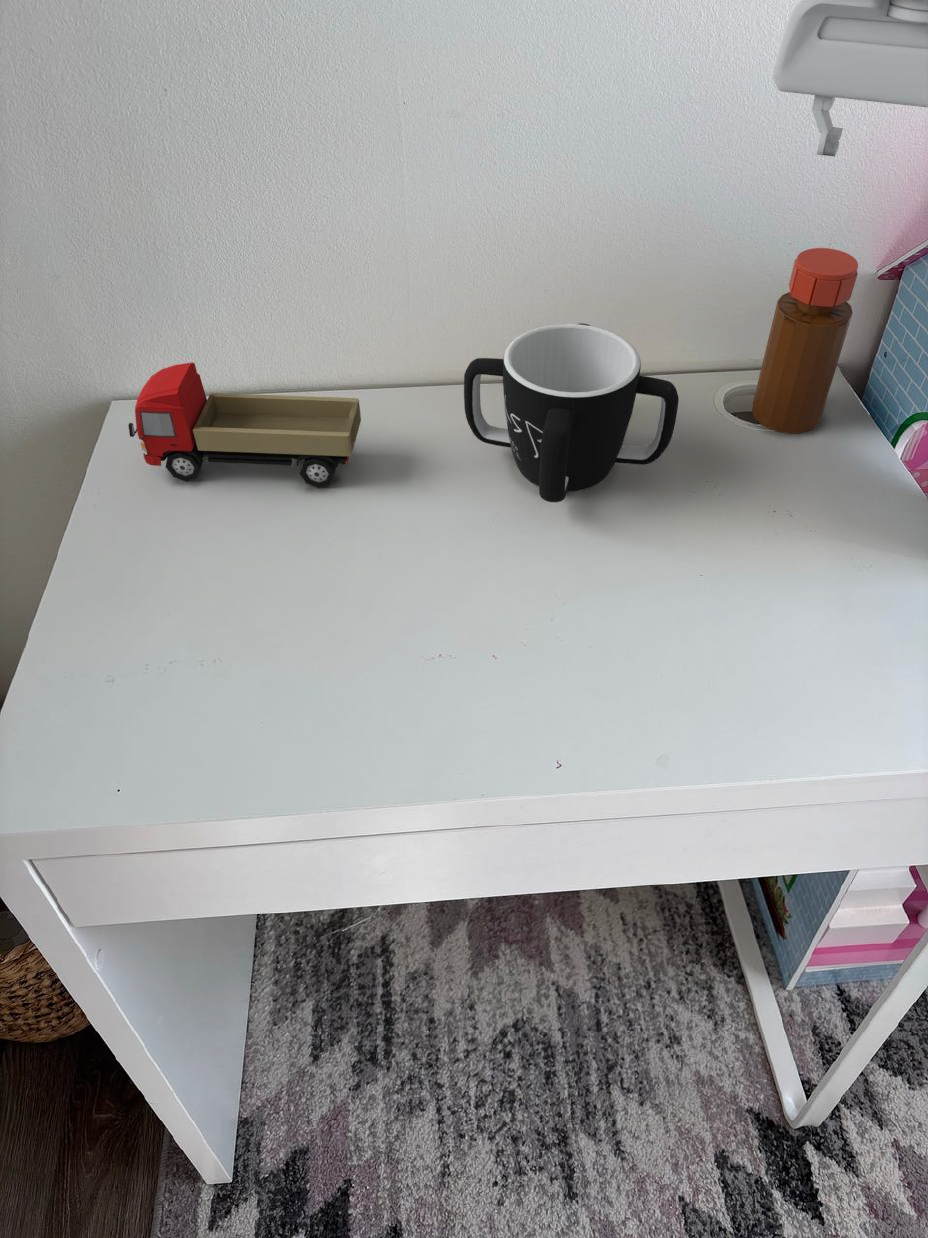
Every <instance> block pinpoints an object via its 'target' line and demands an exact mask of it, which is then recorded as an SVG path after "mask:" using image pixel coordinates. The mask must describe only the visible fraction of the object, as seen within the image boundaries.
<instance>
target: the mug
mask: <svg viewBox="0 0 928 1238" xmlns="http://www.w3.org/2000/svg"><path fill="white" fill-rule="evenodd" d="M641 367H642V362H641V357H640V354H639V352H638V351H637V349H636V348H635V347H634V346H633V345H632V343H631V342H629V341H628V340H627V339H625V338H624V337H622V336H620V335H619V334H616V333H615V332H613V331H610V330H607V329H605V328H601V327H597V326H593V325H591V324H588V323H581V322H580V323H559V324H550V325H545V326H544V325H543V326H541V327H537V328H534V329H531V330H528V331H525V332H524V333H522V334H520V335H518V336H517V337H516V338H514V339H513V340H512V341H511V342H510V343H509V344H508V346H507V347H506V349H505V351H504V353H503V358H494V357H477V358H475V359H473V360H472V361H470V363H469V364H468V365H467V367H466V369H465V372H464V375H463V405H464V414H465V418H466V421H467V425H468V426H469V428H470V430H471V432H472V434H473V435H474V436H475V437H476V439H478V440H479V441H480V442H482V443H485V444H488V445H493V446H499V447H503V448H508V449H509V448H510V449H511V453H512V455H513V456H512V457H513V459H514V462H515V464H516V467H517V469H518V470H519V472H520V473H521V475H522V476H523V477H524V478H525V479H526V480H527V481H529V482H530V483H532V484H534V485H535V486H538V491H539V492H538V493H539V496H540V498H541V499H542V500H544V501H545V502H549V503H560V502H562V501H564V500H565V499H566V497H567V493H568V492H578V491H584V490H587V489H590V488H593V487H595V486H596V485H598V484H600V483H601V482H603V481H604V480H605V478H607V476H608V475H609V474H610V472H611V471H612V469H613V467H614V465H615V464H617V463H618V464H625V465H626V464H627V465H642V466H643V465H649V464H652V463H654V462H655V461H657V460H658V459H659V458H660V457H661V456H662V455H663V454H664V453H665V451H666V450H667V448H668V447H669V445H670V442H671V441H672V439H673V434H674V431H675V426H676V421H677V415H678V409H679V402H680V399H679V398H680V397H679V393H678V390H677V388H676V386H675V385H674V384H673V382H672V381H669V380H667V379H666V380H665V379H662V378H657V377H652V376H646V375H640V374H641V369H642V368H641ZM482 375H483V376H484V375H485V376H493V377H501V378H502V388H503V389H502V390H503V403H504V413H505V419H506V426H507V428H504V427H498V426H494V425H490V424H489V423H488V422H487V421H486V419H485V417H484V414H483V412H482V405H481V376H482ZM637 394H638V395H645V396H651V397H658V398H661V401H660V402H661V404H660V405H661V407H660V412H659V419H658V424H657V428H656V433H655V435H654V438H653V439H652V441H651V442H650V443H649V444H648V445H644V446H643V445H642V446H639V445H629V444H628V445H627V444H624V440H625V438H626V435H627V431H628V427H629V425H630V422H631V418H632V415H633V411H634V406H635V402H636V397H637Z"/></svg>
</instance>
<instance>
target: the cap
mask: <svg viewBox="0 0 928 1238" xmlns="http://www.w3.org/2000/svg"><path fill="white" fill-rule="evenodd" d="M793 262H794V263H793V267H792V271H791V274H790V278H789V282H788V289H789V292H790V295H792V297H794V298H796V299H798V300H800V301H802V302H804V303H806V304H808V305H809V304H811V305H812V306H827V307H833V306H838V305H840V304H842V303H844V302H848V301H850V299H851V298H852V295H853V291H854V288H855V285H856V282H857V278H858V275H859V273H858V268H859V262H858V260H857V259H856V258H855V257H854V256H852V255H851V254H849V253H848V252H845V251H842V250H839V249H835V248H829V247H814V248H808V249H804V250H803V251H801V252H799V254H798V255H797V256H796V258H795V260H794V261H793Z"/></svg>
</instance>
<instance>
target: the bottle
mask: <svg viewBox="0 0 928 1238" xmlns="http://www.w3.org/2000/svg"><path fill="white" fill-rule="evenodd" d="M853 314H854V312H853V308H852V305H851V304H850V303H849V302H848V301H846V302H844V303H842V304H840V305H838V306H833V307H827V306H812V305H811V304H809V305H808V304H806V303H804V302H802V301H800V300H798V299H796V298H794V297H792V295H790V291H788V292H786V293H784V294H782V295H781V296H780V297H779V298H778V300H777V301H776V305H775V310H774V314H773V318H772V322H771V325H770V331H769V334H768V339H767V343H766V346H765V347H766V348H765V351H764V356H763V359H762V363H761V367H760V371H759V375H758V379H757V384H756V389H755V391H754V392H755V393H754V395H753V400H752V407H751V413H752V416H753V418H754V419H755V420H756V421H757V423H759V424H760V425H762V426H763V427H765V428H767V429H769V430H771V431H774V432H777V433H783V434H802V433H806V432H808V431H811V430H813V429H814V428H816V427H817V426H818V424H819V423H820V420H821V418H822V416H823V413H824V409H825V405H826V403H827V399H828V396H829V392H830V389H831V386H832V383H833V379H834V376H835V372H836V370H837V368H838V367H837V366H838V363H839V360H840V356H841V353H842V350H843V347H844V345H845V344H844V343H845V340H846V337H847V334H848V330H849V327H850V324H851V321H852V317H853Z"/></svg>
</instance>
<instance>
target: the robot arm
mask: <svg viewBox="0 0 928 1238" xmlns="http://www.w3.org/2000/svg"><path fill="white" fill-rule="evenodd" d="M772 79H773V82H774V84H775V86H776V88H777V89H778V90H779V91H780V92H783V93H792V94H802V95H810V96H814V98H813V101H812V107H811V111H812V114H813V118H814V120H815V123H816V126H817V131H818V132H819V134H820V136H819V140H818V145H817V149H816V155H818V156H826V157H836V155H837V152H838V150H839V147H840V140H841V137H842V134H843V127H838V126H837V127H836V126H834V125H833V121H832V118H831V114H830V110H831V108H832V107H833V105H834V103H835V101H836V98H837V99H846V100H855V101H856V100H857V101H865V102H873V103H881V104H882V103H883V104H891V105H892V104H893V105H900V106H911V107H920V108H928V0H796V1H795V3H794V4H793V6H792V8H791V10H790V12H789V14H788V17H787V20H786V22H785V25H784V29H783V31H782V35H781V38H780V41H779V45H778V48H777V52H776V55H775V61H774V65H773V69H772Z"/></svg>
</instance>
